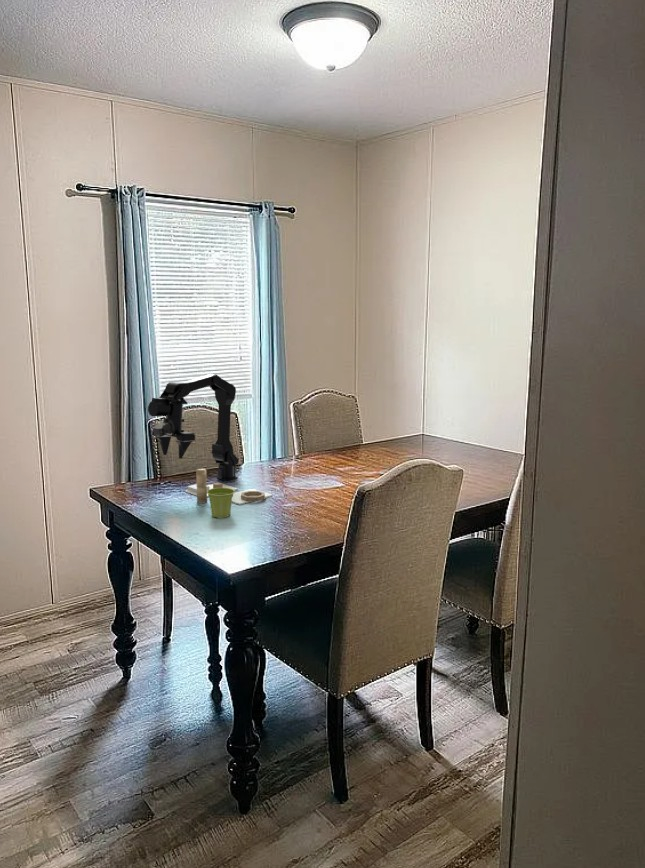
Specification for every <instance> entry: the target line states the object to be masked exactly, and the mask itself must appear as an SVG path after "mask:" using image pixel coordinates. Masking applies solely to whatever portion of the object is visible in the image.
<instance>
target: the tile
mask: <svg viewBox="0 0 645 868" xmlns="http://www.w3.org/2000/svg"><path fill="white" fill-rule="evenodd" d="M213 488H230V489H233V490H234V491H235V490H236V491H238V490H239V489H238V488H237V487H233V486H231V485H227V484H224V483H222V482H214V483H211V484H208V485H207V491H208V490H209V489H213ZM185 493H188V494H190V493H191V495H194V496H196V497H197V483H195V484H190V485H187V489H186V490H185ZM207 498H209V497H208V494H207Z"/></svg>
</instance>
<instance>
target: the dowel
mask: <svg viewBox="0 0 645 868" xmlns="http://www.w3.org/2000/svg"><path fill="white" fill-rule="evenodd" d="M195 471H196V472H195V473H196V474H195V476H196V484H197V496H196V501H197V502H196V503H198V504H205V503H207V502H208V497H207V484H208V483H207V469H206V468H198V469H197V468H196V470H195Z"/></svg>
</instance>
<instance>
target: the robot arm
mask: <svg viewBox="0 0 645 868" xmlns="http://www.w3.org/2000/svg"><path fill="white" fill-rule="evenodd" d="M207 387H209V388H210V390H212V391H213V392H214V398H215V400H216V402H217V405H218V413H217V439H216V441H215V443H212V444H211V454H212V458H213V460H214V461H215V464H218V468H217V476H216V479H219V480H222V481H226V482H227V481H230V480H234V479H238V476H237V475H236V466H238V464H239V460H240V459H239V458H238V457H237V456H236V455H235V454H234V447H233V445H232V442H231V440H230V436H231V434H230V433H231V415H232V414H231V410H232V408H231V407H232V404H233V403H234V401H235V400H236V399H235V398H236V394H237V390H236V389H237V388H236V386H235V385H234V384H232V383H230V382H229V381H227V380H226V379H223V378H221V377H220V376H219V375H218V374H215V373H207V374H206V375H203V376H199V377H196V378H193V379H189V380H186V381H171V382H168V383H167V384H166V386H165V388H164V390H163V391H162V393H161V394H160V396H159V397H152V398H151V401H150V402H149V403H148V406H147V411H148V414H149V416H151V417H164V418H163V420H162V421H163V422H161V423H159V424H156V425H154V426H153V427H152V433H151V434H152V436H154V438H155V439H157V440H158V442H159V444H160V447H161V450H162V451H161V452H162V454H163V456H167V454H168V452H169V451H168V450H169V447H170V442H171V439H172V437H173V438H176V440H175V441H176V443H177V445H178V459H183V457H184V455H185V453H186V451H187V450H188V448H189V446H190V445H191V443H193V441H196V434H195V433H194V432H190V431H185V430H184V429H183V426H182V425H183V422H185V418H183V406H184V405H188V404H189V403H188V402H187V400H185V397H187V396H189V395H190V393H192V392H195V391H197V390H201V389H203V388H207Z"/></svg>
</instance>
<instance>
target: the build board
mask: <svg viewBox="0 0 645 868" xmlns="http://www.w3.org/2000/svg"><path fill="white" fill-rule="evenodd" d="M272 497H273V494H271V493H268V492H266V491H261V490H258V489H254V488H249V489H246V490H241V491H237V492H234V493H233V497H232V502H231V504H235V505H239V506H242V505H245V503H246V504H249V503H253V502H259V501H263V500H265V499H266V498H272ZM241 504H242V505H241Z"/></svg>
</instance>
